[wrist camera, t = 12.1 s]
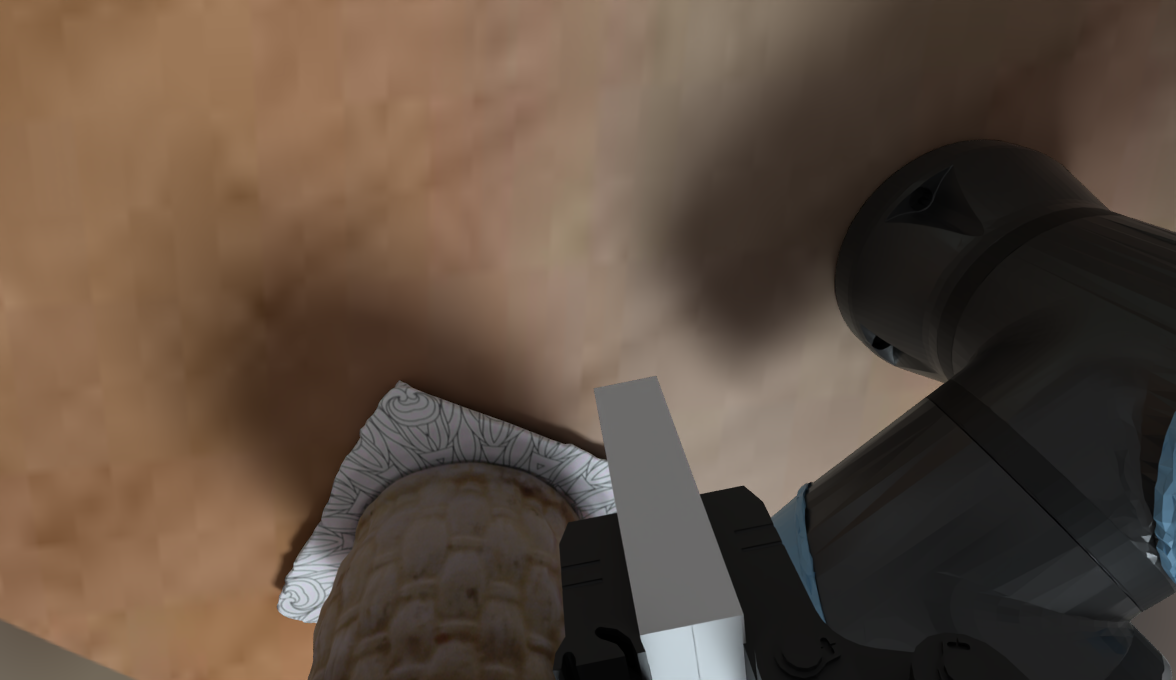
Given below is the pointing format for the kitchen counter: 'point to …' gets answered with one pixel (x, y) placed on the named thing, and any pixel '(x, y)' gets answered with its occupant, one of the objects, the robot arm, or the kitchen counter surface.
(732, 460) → the kitchen counter surface
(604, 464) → the cookie jar
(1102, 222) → the robot arm
